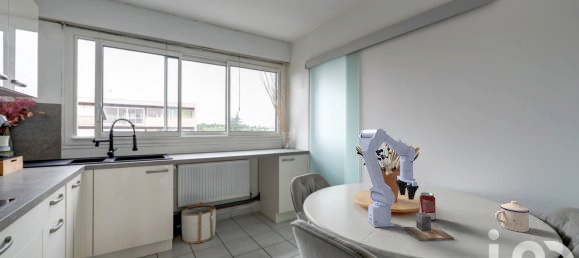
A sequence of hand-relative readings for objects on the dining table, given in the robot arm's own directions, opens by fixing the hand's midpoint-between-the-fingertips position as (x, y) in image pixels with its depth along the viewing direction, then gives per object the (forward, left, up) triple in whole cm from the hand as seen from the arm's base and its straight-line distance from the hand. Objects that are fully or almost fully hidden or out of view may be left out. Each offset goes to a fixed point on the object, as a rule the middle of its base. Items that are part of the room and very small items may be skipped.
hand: (406, 197), depth 117 cm
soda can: (+8, -4, -10) cm, 13 cm away
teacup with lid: (+37, -17, -10) cm, 42 cm away
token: (-2, -17, -8) cm, 19 cm away
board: (-3, -20, -9) cm, 22 cm away
